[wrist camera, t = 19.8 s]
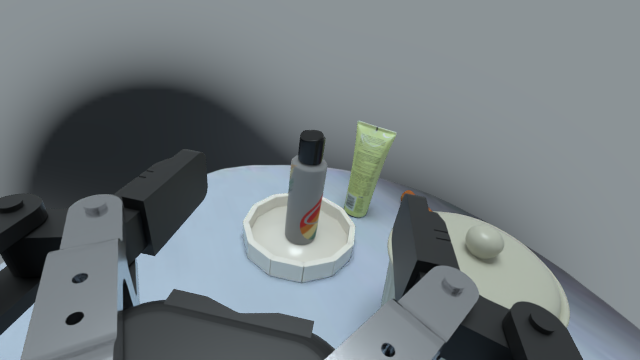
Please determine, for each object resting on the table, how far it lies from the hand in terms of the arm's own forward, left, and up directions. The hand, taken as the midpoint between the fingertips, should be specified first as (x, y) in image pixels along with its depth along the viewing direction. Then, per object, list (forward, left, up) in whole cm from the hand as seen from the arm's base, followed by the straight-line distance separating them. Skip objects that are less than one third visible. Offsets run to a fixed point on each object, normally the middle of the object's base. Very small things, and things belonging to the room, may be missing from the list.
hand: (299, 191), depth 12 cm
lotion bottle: (+4, -32, -31) cm, 45 cm away
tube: (-6, -44, -32) cm, 55 cm away
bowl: (+4, -32, -32) cm, 46 cm away
